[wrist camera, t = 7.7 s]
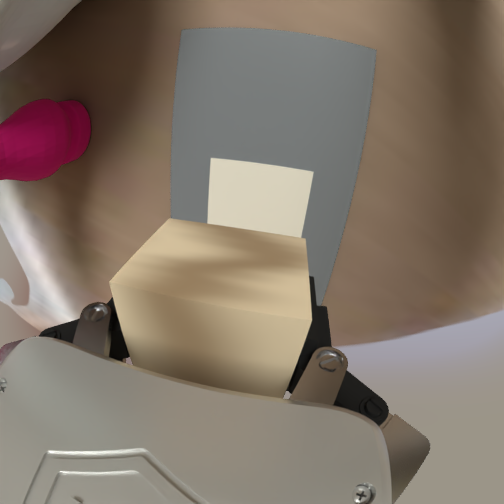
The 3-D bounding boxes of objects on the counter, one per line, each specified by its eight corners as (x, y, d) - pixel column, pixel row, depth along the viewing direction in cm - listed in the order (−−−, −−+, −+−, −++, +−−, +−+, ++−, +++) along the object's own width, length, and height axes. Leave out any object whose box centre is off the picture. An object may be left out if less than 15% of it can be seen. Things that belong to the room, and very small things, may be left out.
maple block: (305, 238, 11) (311, 320, 7) (281, 337, 14) (274, 417, 10) (169, 218, 12) (109, 281, 7) (175, 317, 15) (141, 387, 10)
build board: (372, 52, 14) (377, 49, 13) (313, 320, 27) (313, 328, 26) (186, 32, 15) (181, 29, 14) (178, 297, 28) (175, 304, 27)
